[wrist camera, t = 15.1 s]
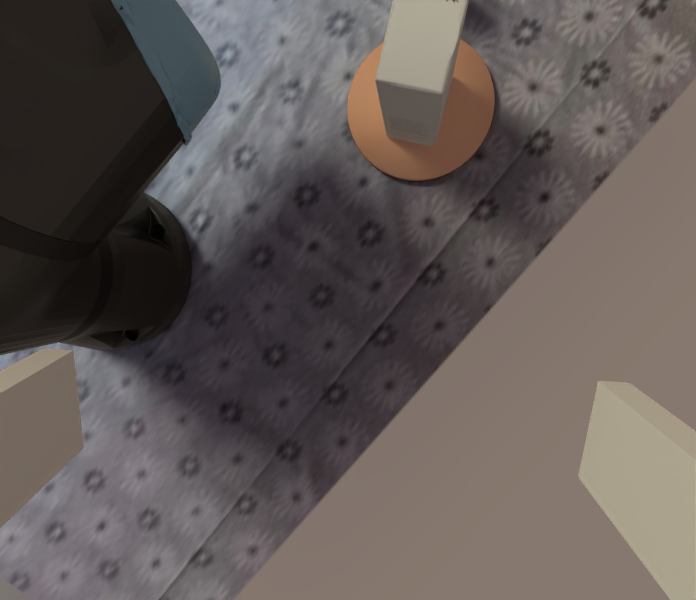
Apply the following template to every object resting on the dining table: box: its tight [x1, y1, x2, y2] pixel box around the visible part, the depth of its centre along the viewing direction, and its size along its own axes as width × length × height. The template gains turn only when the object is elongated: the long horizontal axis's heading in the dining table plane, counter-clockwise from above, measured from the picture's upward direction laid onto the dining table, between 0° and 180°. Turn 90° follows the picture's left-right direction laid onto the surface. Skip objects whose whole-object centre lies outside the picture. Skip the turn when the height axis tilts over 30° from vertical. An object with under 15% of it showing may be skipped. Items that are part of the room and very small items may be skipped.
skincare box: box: [375, 0, 469, 147], centre depth 31 cm, size 6×4×12 cm
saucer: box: [347, 39, 495, 181], centre depth 37 cm, size 12×12×1 cm
